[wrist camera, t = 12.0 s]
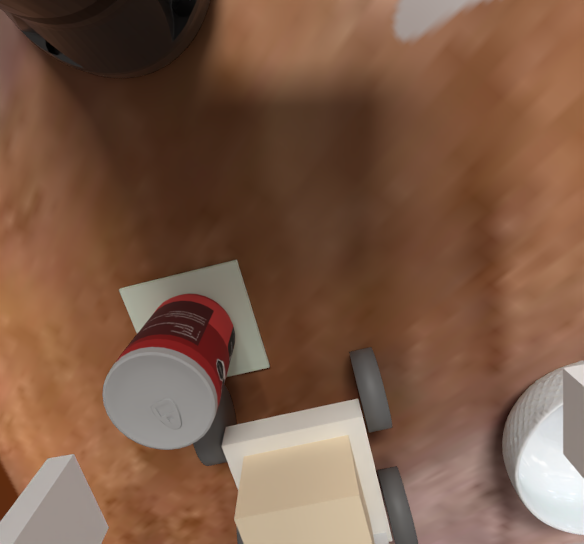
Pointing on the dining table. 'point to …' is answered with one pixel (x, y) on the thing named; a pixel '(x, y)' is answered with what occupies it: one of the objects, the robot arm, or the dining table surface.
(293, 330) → the dining table surface
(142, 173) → the dining table surface
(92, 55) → the robot arm
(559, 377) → the cereal bowl
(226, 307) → the mat
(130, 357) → the canned food
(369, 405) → the trolley
